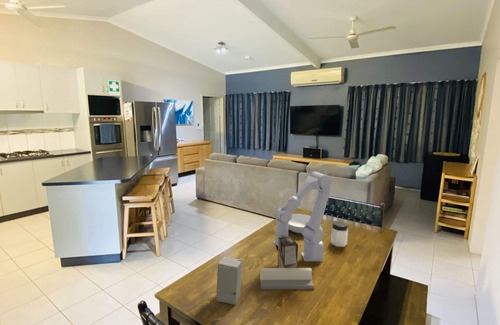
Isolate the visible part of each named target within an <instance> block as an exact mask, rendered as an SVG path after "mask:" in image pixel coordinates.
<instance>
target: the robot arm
mask: <svg viewBox="0 0 500 325" xmlns="http://www.w3.org/2000/svg"><path fill="white" fill-rule="evenodd" d="M331 186H332V179H331V177H330V175H328V174H325V173H320V172H319V171H312V172H311V173H309V175H308V176H307V177H306V180H305V182H304V183H303V184H302V186H301V187H300V189H298V191H297V192H296V194H295V195H293V196H290V197H288V198H287V201H286V202H285V203H284V204H283V205H282V206H281V207H280V208H277V209H276V210H275V213H274V214H273V215H274V218H275V219H276V227H275V228H276V229H275V231H276V232H275V233H276V234H275V240H273V245H275V248H276V251H277V252H278V238H280V237H288V236H289V229H288V226H289V221H290V220H291V218H292V215H293V214H295V213H294V212H296V210H298V208H299V207H300V206H301V201H302V200H303V199H304V198H305V197H306V196H307V195H308V194H309V193H310V192H311V191H312V190H317V195H316V199H315V201H314V206H313V208H312V212H311V215H310V216H311V218H310V221H309V222H307V223H306V224H305V226H304V228H303V229H302V233H301V235H302V236H303V252H300V255H301V256H302V259H303V261H304V262H324V242H323V241H322V240H323V232H324V230H323V228H322V225H321V224H322V220H323V217H324V213H325V211H326V206H327V205H328V204H327V203H328V200H329V197H330V193H331Z"/></svg>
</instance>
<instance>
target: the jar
mask: <svg viewBox="0 0 500 325" xmlns="http://www.w3.org/2000/svg"><path fill="white" fill-rule="evenodd" d="M330 234H331V235H330V244H332V245H333V246H335V247H340V248H341V247H342V248H345V247H346V246H347V244H348V238H349V236H348V235H349V224H348V223H347V222H345V221H342V220H335V221H333V222H332V227H331V233H330Z"/></svg>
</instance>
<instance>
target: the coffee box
mask: <svg viewBox="0 0 500 325" xmlns="http://www.w3.org/2000/svg"><path fill="white" fill-rule="evenodd" d="M298 251H299V244H298V243H297V242H296V241H295V240H294V238H293V237H292V236H289V235H288V237H280V238H278V251H277V268H298V254H299V252H298Z"/></svg>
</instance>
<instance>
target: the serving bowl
mask: <svg viewBox="0 0 500 325" xmlns="http://www.w3.org/2000/svg"><path fill="white" fill-rule="evenodd" d="M310 218H311V215H309V214H305V213H293V215H292V218H291V220H290V221H289V226H288V231H289V230H290V231H291V232H293V233H295V234H302V229H303V228H304V226H305V224H306V223H307V222H309V221H310Z"/></svg>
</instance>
